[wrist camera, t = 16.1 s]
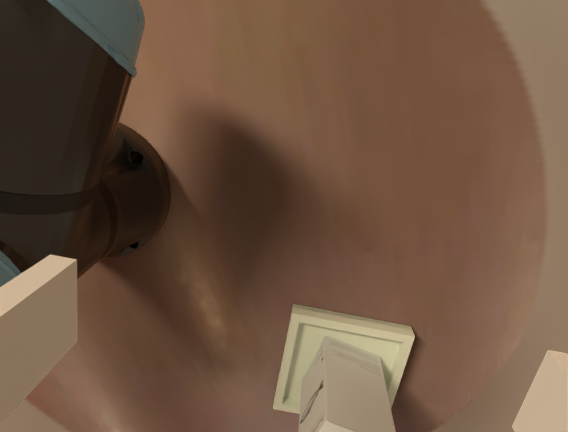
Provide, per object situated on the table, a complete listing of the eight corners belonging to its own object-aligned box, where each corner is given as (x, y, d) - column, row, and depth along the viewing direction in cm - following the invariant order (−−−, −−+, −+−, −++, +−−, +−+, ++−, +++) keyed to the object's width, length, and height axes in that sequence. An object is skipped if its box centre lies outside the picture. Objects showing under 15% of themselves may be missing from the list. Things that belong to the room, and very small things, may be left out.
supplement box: (324, 332, 47) (326, 418, 35) (381, 356, 48) (402, 449, 36) (299, 378, 50) (293, 473, 38) (354, 400, 50) (365, 501, 38)
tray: (274, 396, 52) (272, 408, 50) (293, 303, 47) (291, 313, 45) (381, 417, 51) (383, 430, 50) (411, 326, 47) (415, 336, 45)
